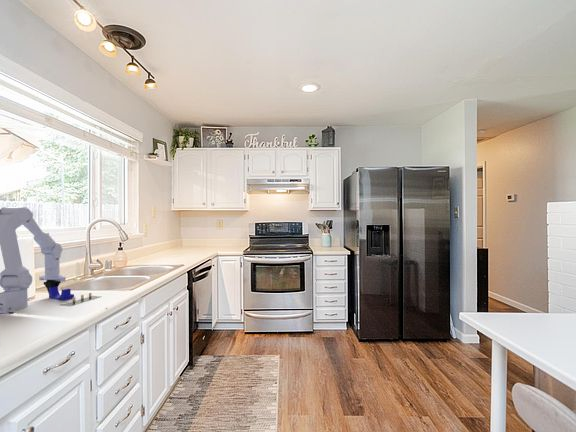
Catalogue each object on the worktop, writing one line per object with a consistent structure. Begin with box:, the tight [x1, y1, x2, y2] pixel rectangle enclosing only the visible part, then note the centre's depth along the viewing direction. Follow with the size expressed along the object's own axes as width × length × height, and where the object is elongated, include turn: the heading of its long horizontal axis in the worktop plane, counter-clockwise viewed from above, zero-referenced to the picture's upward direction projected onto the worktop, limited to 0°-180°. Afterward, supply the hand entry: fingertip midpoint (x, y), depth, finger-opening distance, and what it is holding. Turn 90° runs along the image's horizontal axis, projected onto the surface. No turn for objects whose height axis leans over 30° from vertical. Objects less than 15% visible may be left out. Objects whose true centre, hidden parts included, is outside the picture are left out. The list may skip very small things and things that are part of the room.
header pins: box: [72, 292, 92, 303], centre depth 140 cm, size 9×1×3 cm, turn 164°
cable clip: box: [48, 286, 75, 301], centre depth 145 cm, size 12×4×6 cm, turn 64°
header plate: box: [59, 295, 102, 307], centre depth 140 cm, size 16×7×1 cm, turn 164°
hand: (52, 295), depth 149 cm, fingers closed
